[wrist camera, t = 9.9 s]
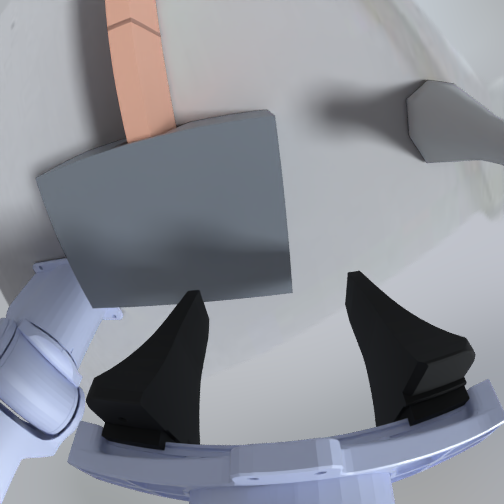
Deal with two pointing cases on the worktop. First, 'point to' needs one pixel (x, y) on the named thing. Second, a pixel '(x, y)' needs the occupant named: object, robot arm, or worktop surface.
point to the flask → (453, 125)
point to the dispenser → (176, 214)
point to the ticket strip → (139, 68)
